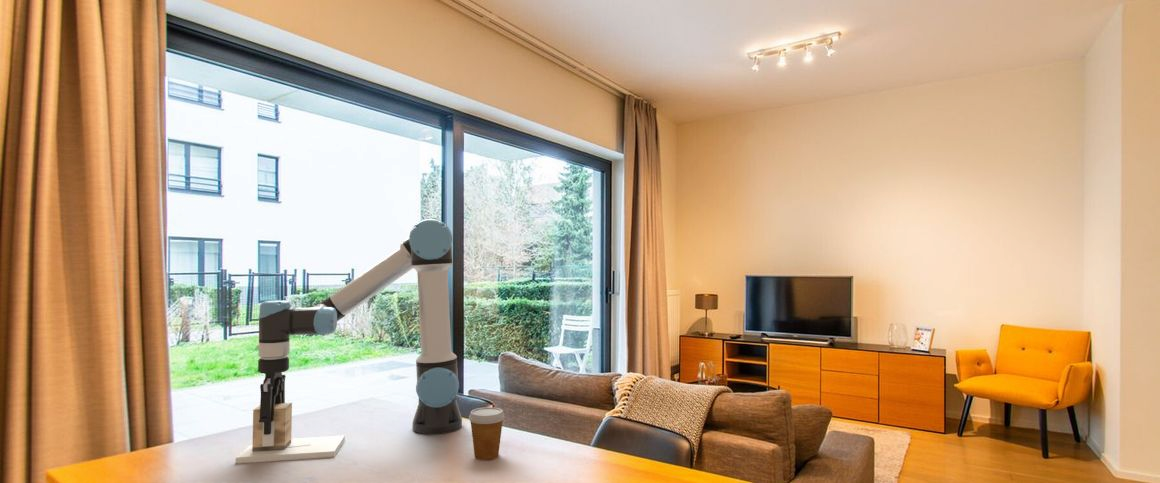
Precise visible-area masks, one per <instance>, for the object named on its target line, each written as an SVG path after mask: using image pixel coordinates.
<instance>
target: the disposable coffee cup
mask: <svg viewBox="0 0 1160 483" xmlns="http://www.w3.org/2000/svg"><path fill="white" fill-rule="evenodd" d="M504 418H505V414H504V411H503V409H502V408H499V407H494V406H493V407H489V406H488V407H487V406H486V407H485V406H484V407H478V408H474V409H472V410H471V411H470V414H469V415H468V419H469V422H470V427H471V436H472V446H473V453H474V455H473V456H474V458H475V459H476V460H479V461H492V460H495V459H497V458H499V453H500V444H501V438H502V429H503V423H504V422H503V420H504Z"/></svg>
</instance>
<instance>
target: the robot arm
mask: <svg viewBox="0 0 1160 483" xmlns="http://www.w3.org/2000/svg"><path fill="white" fill-rule="evenodd" d="M452 235H453V234H452V231H451V230H450V228H449V226H448V225H447V224H446V223H445V222H443V221H441V220H440V219H436V218H427V219H422V220H420V221H418V222H417V223H415V225H414V226H413V227H412V228H411V231H410V232H409V236H408V237H407V238H406V239H405V240H403V241H402V242H401V243H400V245H399V248H398V249H396V250H395V251H393V252H391V253H390V254H388V255H387V256H386V257H384V258H383V259H381V260H380V261H379V262H377V263H376V264H374V265H373V266H371V267H370V268H369V269H367V270H366V271H364V272H362V273H361V274H359V275H358V276H357V277H356V278H354V279H353V280H351V281H349V282H348V283H346V284H345V285H344V286H343V287H341V288H340V289H339V290H337V291H335V292H333V293H332V294H331V295H330V296H328V297H326V298H325V299H324V300H322V301H321V302H319V303H318V304H316V305H314V306H312V307H311V306H310V307H292V306H291V301H289V300H281V299H280V300H279V299H278V300H277V299H276V300H265V301H263V302H261V303H260V305H259V315H258V344H257V345H256V349H258V357H259V358H258V360H257V372H258V373H260V374H265V376H264V379H263V383H261V384H260V386H259V389H260V402H259V403H260V404H259V405H260V420H259V423H260V422H263V430H262V447H264V446H274V422H275V421H273V416H274V407H275V404H281V403H286V402H285V401H286V400H285V399H286V395H285V394H286V391H285V390H286V385H285V384H286V374H282V373H284V372H287V371H288V370H289V369H290V358H289V355H290V336H292V335H293V336H296V335H300V336H301V335H320V336H323V335H331V334H333V333H335V332H336V330H337V326H338V322H339V321H340V320H342V319H343V318H345V316H347V315H348V314H350V313H351V312H353V311H354V310H355V309H357V308H359V307H360V306H362V305H363V304H365V303H366V302H367V301H369V300H370V299H371V298H373V297H374V296H376V295H378V294H379V293H380V292H381V291H382V290H384V289H385V288H387V287H388V286H390V285H392V284H393V283H394V282H396V281H397V280H398V279H400V278H401V277H402V276H404V275H405V274H407V273H408V272H410V271H411V270H413V269H414V270H415V271H416V272H417V292H418V293H417V294H418V310H419V312H418V313H419V314H418V315H419V333H420V334H419V335H420V336H419V337H420V355H419V356H418V357H416V359H415V362H416V367H415V368H416V385H415V392H416V395H417V397H418V404H417V407H416V411H415V413H414V417H413V419H412V430H413V432H415V433H418V434H422V435H423V434H426V435H440V434H448V433H451V432H455V431H458V430H459V429H460V428H462V427H463V417H462V415H461V414H462V413H461V412H460V408H459V404H458V402H457V395H458V392H459V391H460V390H459V389H460V380H459V374H458V372H459V370H458V356H457V355H456V354H455V353H454V352H453V351H452V339H451V338H452V337H451V318H450V315H451V314H450V297H449V296H450V294H449V276H448V270H449V269H450V268H451V266H452V265H453V248H452V243H453V236H452Z"/></svg>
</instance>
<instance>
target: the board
mask: <svg viewBox="0 0 1160 483" xmlns="http://www.w3.org/2000/svg"><path fill="white" fill-rule="evenodd" d="M345 437H346V435H332V436H315V437H311V436H310V437H299V438H298V437H297V438H291V443H290V444H289V445H288V446H287V448H286V449H283V450H266V451H252V444H253V442H252V443H251V444H249V446H247V447H246V448H245V449H244V450H242V451H241V453H239V454H238V455H237V456H235V464H247V463H248V464H249V463H260V462H261V463H262V462H276V461H277V462H278V461H279V462H280V461H291V460H295V461H296V460H308V459H323V458H335V457H336V455H337V453H338V452H339V450H340V449H341V447H342V446H343V444H344V442H345V441H346V438H345Z"/></svg>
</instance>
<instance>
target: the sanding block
mask: <svg viewBox="0 0 1160 483" xmlns="http://www.w3.org/2000/svg"><path fill="white" fill-rule="evenodd" d="M252 412H253V413H252V443H253V444H252V443H251V444H252V451H266V450H283V449H286V448H287V446H288V445H289V444H290V443H291V439H292V431H293V430H292V428H293V427H292V424H293V423H292V421H293V420H292V419H293V402H288V403H287V402H285V403H281V404H275V407H274V416H273V421H275V422H274V446H264V447H262V430H263V422H260V423H259V420H260V404H259V405H258V406H257V407H255V408H254V409H253V410H252Z"/></svg>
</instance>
